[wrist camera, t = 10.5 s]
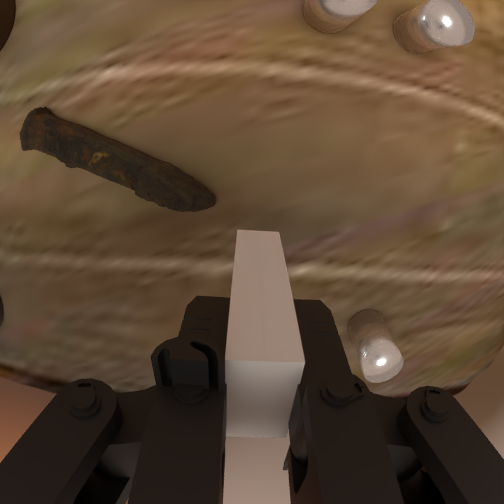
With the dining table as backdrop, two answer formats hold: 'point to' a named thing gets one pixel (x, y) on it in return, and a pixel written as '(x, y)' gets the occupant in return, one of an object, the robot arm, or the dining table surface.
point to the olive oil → (6, 19)
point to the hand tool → (114, 162)
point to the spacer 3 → (434, 26)
